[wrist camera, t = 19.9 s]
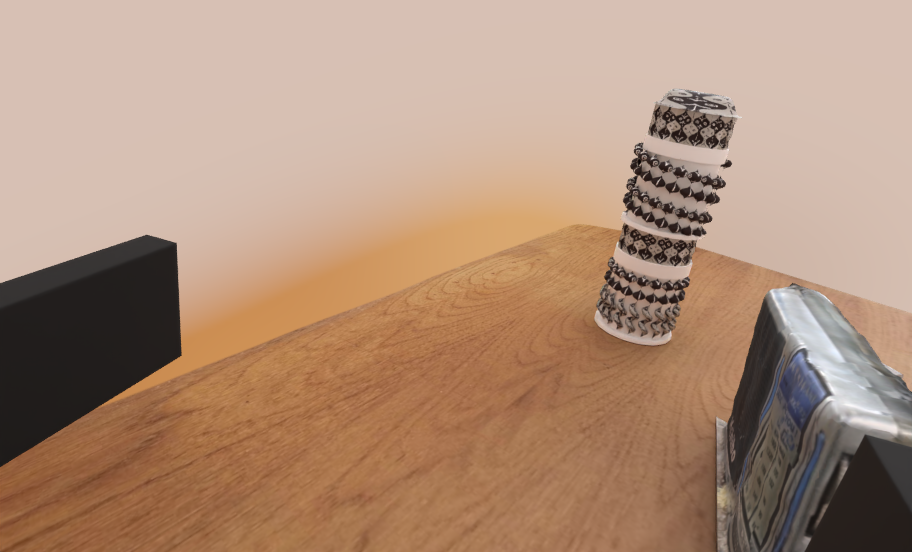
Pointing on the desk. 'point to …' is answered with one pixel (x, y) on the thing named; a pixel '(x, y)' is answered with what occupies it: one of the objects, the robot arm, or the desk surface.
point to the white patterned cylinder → (665, 215)
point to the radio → (799, 422)
